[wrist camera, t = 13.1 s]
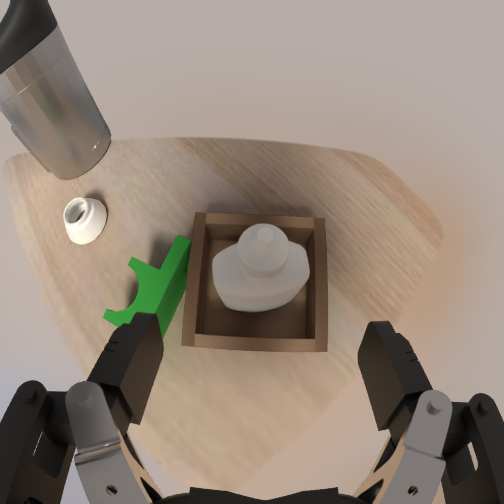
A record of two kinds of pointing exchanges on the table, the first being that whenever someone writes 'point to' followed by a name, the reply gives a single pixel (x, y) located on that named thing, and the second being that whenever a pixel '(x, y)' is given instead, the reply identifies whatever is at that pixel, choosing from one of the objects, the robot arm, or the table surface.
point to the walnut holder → (261, 323)
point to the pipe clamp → (158, 286)
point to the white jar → (84, 219)
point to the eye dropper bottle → (260, 270)
